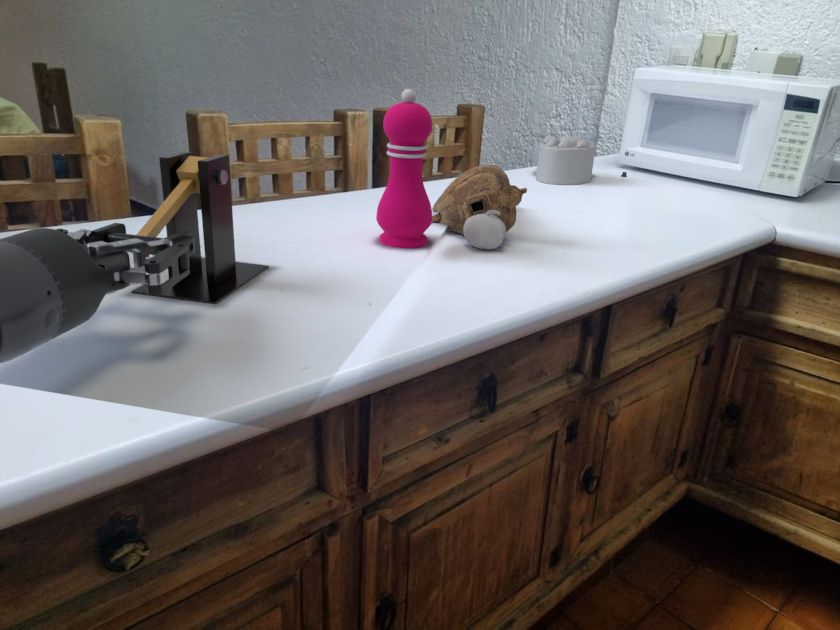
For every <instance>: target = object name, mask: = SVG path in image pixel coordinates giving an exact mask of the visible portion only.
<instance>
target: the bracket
mask: <svg viewBox="0 0 840 630" xmlns="http://www.w3.org/2000/svg"><path fill="white" fill-rule="evenodd" d="M189 156H194V153H193V151H184V150H183V151H180V152H176V153H175V152H174V153H172V154H171V153H170V154H168V155H163V156H160V157H159V156H158V157H159V158H158V159H159V170H160V181H161V191H162V200H163V201H162V202H164V201H165V200H166V199H167V197H168V196H169V195H170V194H171V193H172V191H173V190H174V189H175V188H176V187H177V185H178V184H179V183H180V180H179V178H178V175H177V172H176V171H177V170H178V168H179V167H180V166H181V165H182V164H183V163H184V161H185V160H186V159H187V158H188V157H189ZM198 173H199V186H200V193H199V197H200V209H201V223H202V235H203V247H204V257H202V252H201V251H202V249H201V240H200V238H201V237H200V227H199V226H200V225H199V216H198V204H197V203H198V201H197V193H191V194H190V196H189V197H188V198H187V199H186V201H185V202H184V203H183V204H182V206H181V207H180V208H179V209H178V211H177V212H176V213H175V214H174V216H173V217H172V218H171V219H170V221H169V222H168V223H167V224H166V226H165V229H166V230H165V231H166V237H168V236H170V235H173V234H175V233H178V232H180V231H190V232H191V233H192V237H194V245H195V253H194V254H193V255H191V256H189V268H190V274H189V275H187V276H186V277H185V278H183V279H182V280H181V281H179V282H178V283H176V284H175V285H174V286H172V287H171V288H169V289H168V290H167V291H165V292H164V293H162V294H159V295H149V294H147V287H146V284H141V285H140V286H138V287H136V288H134V289H132V290H131V292H130V293H131V294H133V295H141V296H149V297H156V298H157V297H158V298H163V299H170V300H180V301H186V302H194V303H202V304H210V305H217V304H219V303H220V302H221V301H223V300H224V299H226V298H227V297H229V296H230V295H232V294H233V293H234V292H236V291H237V290H239V289H240V288H242V287H243V286H245V285H246V284H247V283H249V282H250V281H252V280H253V279H255V278H257V277H258V276H259V275H260V274H263V272H265V271H267V270H268V269H270V265H266V264H258V263H257V264H256V263H249V262H240V261H236V247H235V230H234V216H233V215H234V214H233V197H232V184H231V166H230V155H229V154H218V155H213V156H209V157H208V158H206V159H203V160H199V161H198Z"/></svg>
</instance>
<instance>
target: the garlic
mask: <svg viewBox="0 0 840 630" xmlns="http://www.w3.org/2000/svg"><path fill="white" fill-rule="evenodd" d="M491 214H495V215H500V212H499V211H496V210H489V211H487V212H486V214H477V215H474V216H472V217H470V218H468V219H467V220H466V222H465V224H464V228H463V232H464V235H463V236H464V239H465V240H466V242H467V244H469V246H471V247H474V248H476V249H480V250H487V251H488V250H489V251H491V250H494V249H497V248H498V247H500V246H501V245H502V243H503V241H504V239H505V237H506V233H507V232H506V228H505V224H504V223H503V222H502V221H501V220H500V219H499V218H498V217H496V216H494V215H491Z"/></svg>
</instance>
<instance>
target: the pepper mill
mask: <svg viewBox="0 0 840 630" xmlns="http://www.w3.org/2000/svg"><path fill="white" fill-rule="evenodd" d="M401 100H402V102H398V103H395V104H393V105H392V106H390V107H389V108H388V109H387V111H386V112H385V114H384V117H383V121H382V122H383V123H382V125H383V126H382V127H383V131H384V134H385V135H386V136H387V138H388V140H389V142H387V144H386V147H387V151H386V155H387V156H389V165H390V166H389V176H388V181H387V184H386V187H385V189H384V191H383V193H382V195H381V197H380V199H379V201H378V205H377V207H376V208H377V209H376V222H377V225H378V226H379V227H380V229H381V230H382V231H383V232H382V233H381V234H380V235H379V243H380V244H381V245H384V246H387V247H389V248H396V249H418V248H422V247H425V246H427V244H428V241H429V240H428V236H427V235H426V234H425V232H426V231H427V230H428V229H429V228H430V226H431V225H432V223H433V222H432V216H433V210H432V203H431V201H430V199H429V196H428V193H427V190H426V188H425V184H424V180H423V163H424V158H426V157H427V156H428V154H427V149H428V145H427V144H425V143H426V141H427V139H428V138H429V137H430V135H431V134H432V131H433V119H432V115H431V113H430V111H429V110H428V109H427V108H426V107H425V106H423V105H421V104H420V103H416V102H415V101H417V93H416V91H415V90H414V89H413V88H405V89H404V90H403V91H402V93H401Z"/></svg>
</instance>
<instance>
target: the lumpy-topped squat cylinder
mask: <svg viewBox="0 0 840 630" xmlns="http://www.w3.org/2000/svg"><path fill="white" fill-rule="evenodd" d="M595 155H596V145H595V144H592V143H591V144H590V142H589V141H588V140H587V139H585V138H583V137H573V136H568V135H566V136H561V138H557V137H556V136H554V135H547V136H545V138H544V139H543V141H542V142H540V143H539V147H538V156H537V164H536V172H535V180H536V181H538V182H540V183H543V184H549V185H561V186H571V185H572V186H573V185H574V186H575V185H582V184H587V183H590V182H591V181H592V175H593V169H594V168H593V167H594V162H595Z"/></svg>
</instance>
